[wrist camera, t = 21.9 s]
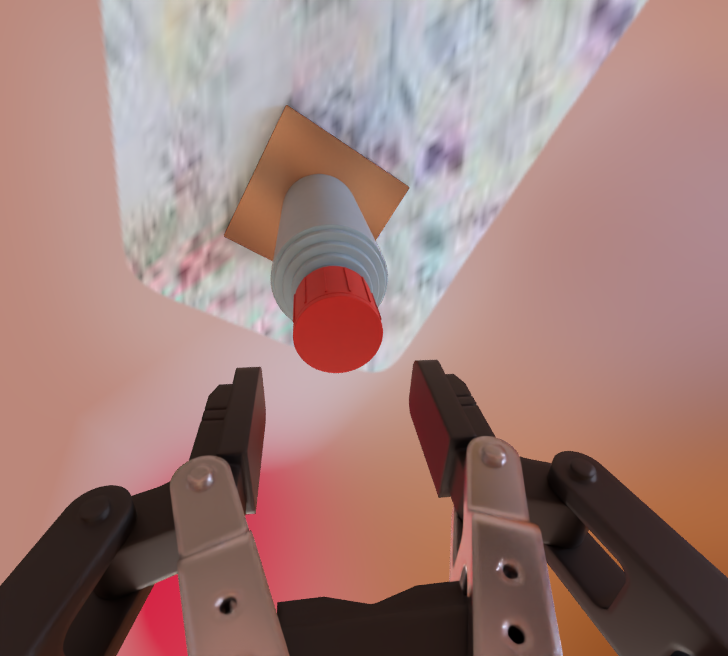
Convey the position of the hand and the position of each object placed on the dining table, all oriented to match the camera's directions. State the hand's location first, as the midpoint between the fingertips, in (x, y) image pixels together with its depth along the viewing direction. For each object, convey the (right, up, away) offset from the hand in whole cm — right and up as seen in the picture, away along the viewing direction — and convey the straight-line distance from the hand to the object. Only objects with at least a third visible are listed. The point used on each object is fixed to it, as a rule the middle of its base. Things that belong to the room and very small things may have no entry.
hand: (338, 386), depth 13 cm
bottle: (-3, +11, +20) cm, 23 cm away
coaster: (-3, +12, +20) cm, 23 cm away
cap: (-1, +3, +6) cm, 6 cm away
